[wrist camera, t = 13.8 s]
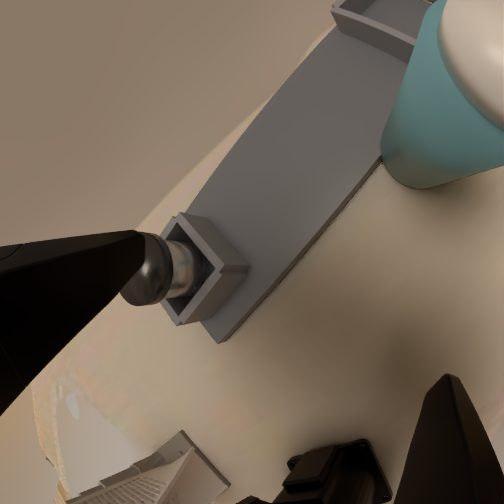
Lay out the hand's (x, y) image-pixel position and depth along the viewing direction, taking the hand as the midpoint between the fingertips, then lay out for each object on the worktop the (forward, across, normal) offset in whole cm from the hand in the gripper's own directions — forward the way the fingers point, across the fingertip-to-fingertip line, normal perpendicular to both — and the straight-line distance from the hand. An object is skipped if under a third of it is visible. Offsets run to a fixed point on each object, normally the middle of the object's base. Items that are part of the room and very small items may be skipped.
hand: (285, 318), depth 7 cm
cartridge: (+14, -3, -4) cm, 15 cm away
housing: (+15, +4, -2) cm, 16 cm away
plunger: (+10, +8, +8) cm, 15 cm away
